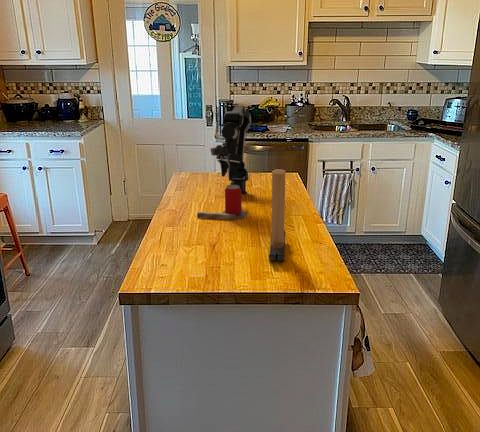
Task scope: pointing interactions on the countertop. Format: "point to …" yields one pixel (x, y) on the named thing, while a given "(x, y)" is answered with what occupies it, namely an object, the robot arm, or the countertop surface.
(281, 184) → the hammer
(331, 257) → the countertop surface
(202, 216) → the rail
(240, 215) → the end pad
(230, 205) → the beverage can
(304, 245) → the countertop surface
